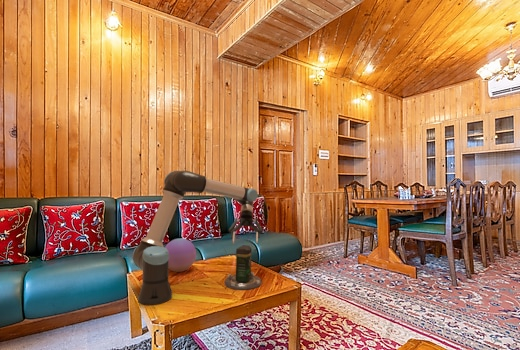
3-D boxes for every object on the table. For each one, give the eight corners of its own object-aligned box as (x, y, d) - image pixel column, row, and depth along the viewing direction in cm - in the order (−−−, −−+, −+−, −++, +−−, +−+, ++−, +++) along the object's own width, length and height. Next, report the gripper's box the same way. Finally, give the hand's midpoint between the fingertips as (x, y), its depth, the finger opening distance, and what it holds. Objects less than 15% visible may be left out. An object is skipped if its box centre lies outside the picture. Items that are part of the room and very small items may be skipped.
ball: (171, 265, 188) (171, 234, 188) (200, 266, 185) (200, 236, 185) (156, 275, 168) (156, 241, 168) (188, 277, 165) (188, 242, 165)
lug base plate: (217, 285, 153) (217, 279, 153) (238, 274, 170) (238, 269, 170) (248, 292, 143) (248, 286, 143) (267, 280, 160) (267, 275, 160)
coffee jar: (248, 283, 151) (248, 248, 151) (233, 282, 153) (234, 247, 153) (253, 277, 160) (253, 244, 161) (239, 276, 162) (239, 243, 163)
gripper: (266, 217, 182) (266, 246, 167) (227, 216, 182) (224, 245, 167) (266, 209, 177) (266, 239, 162) (226, 209, 177) (223, 238, 162)
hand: (245, 242), depth 165 cm, fingers open, 13 cm apart
